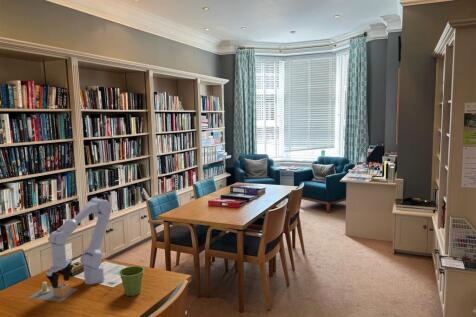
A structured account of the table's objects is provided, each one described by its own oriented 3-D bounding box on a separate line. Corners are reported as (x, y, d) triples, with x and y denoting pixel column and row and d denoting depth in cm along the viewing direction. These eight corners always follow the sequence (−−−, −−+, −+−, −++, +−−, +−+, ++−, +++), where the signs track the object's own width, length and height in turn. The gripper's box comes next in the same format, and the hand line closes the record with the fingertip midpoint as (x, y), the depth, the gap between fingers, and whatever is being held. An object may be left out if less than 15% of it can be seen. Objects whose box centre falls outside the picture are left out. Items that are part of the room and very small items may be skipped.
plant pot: (150, 289, 171) (149, 267, 170) (133, 301, 161) (132, 277, 159) (131, 285, 176) (130, 264, 175) (114, 296, 166) (113, 273, 164)
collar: (61, 291, 168) (60, 283, 168) (70, 292, 167) (69, 284, 167) (53, 296, 163) (52, 288, 163) (62, 297, 162) (62, 289, 162)
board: (78, 291, 170) (77, 279, 170) (61, 304, 159) (60, 290, 158) (46, 288, 174) (45, 276, 173) (27, 301, 162) (26, 287, 162)
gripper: (62, 250, 171) (64, 276, 173) (40, 261, 157) (42, 290, 158) (74, 251, 170) (76, 277, 171) (53, 263, 156) (55, 291, 157)
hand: (61, 284), depth 165 cm, fingers open, 7 cm apart
